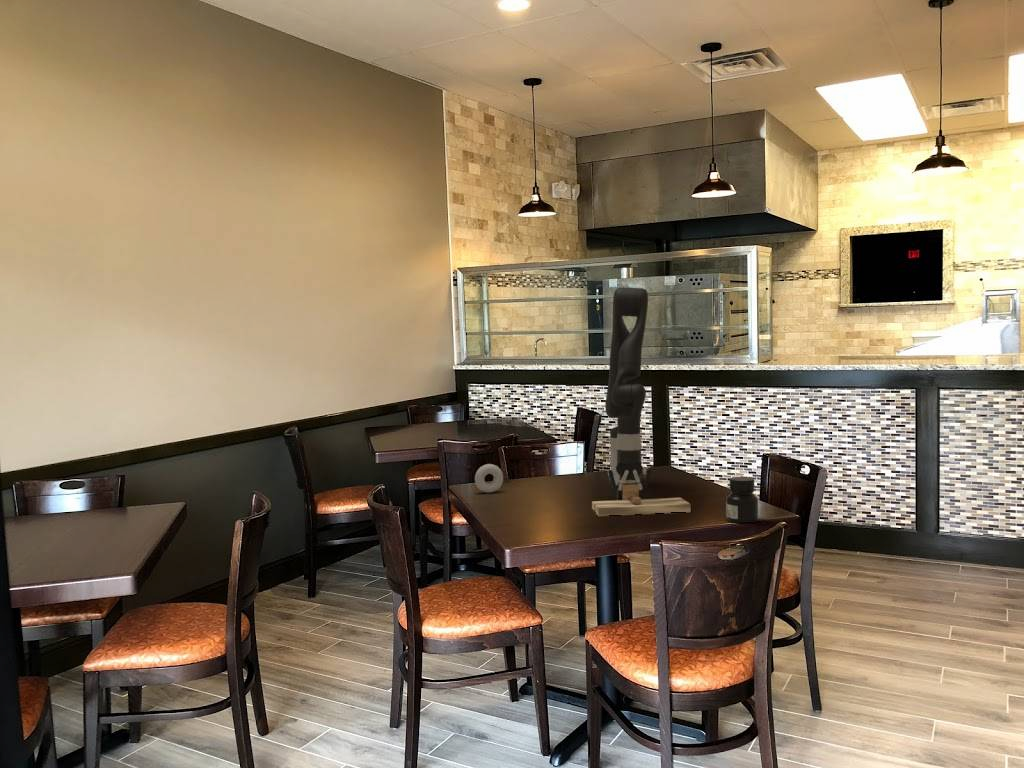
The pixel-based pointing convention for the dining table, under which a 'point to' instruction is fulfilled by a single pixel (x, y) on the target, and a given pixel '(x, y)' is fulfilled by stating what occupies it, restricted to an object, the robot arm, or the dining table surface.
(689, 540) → the dining table surface
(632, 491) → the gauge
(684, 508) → the board
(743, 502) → the ink bottle
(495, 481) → the donut
